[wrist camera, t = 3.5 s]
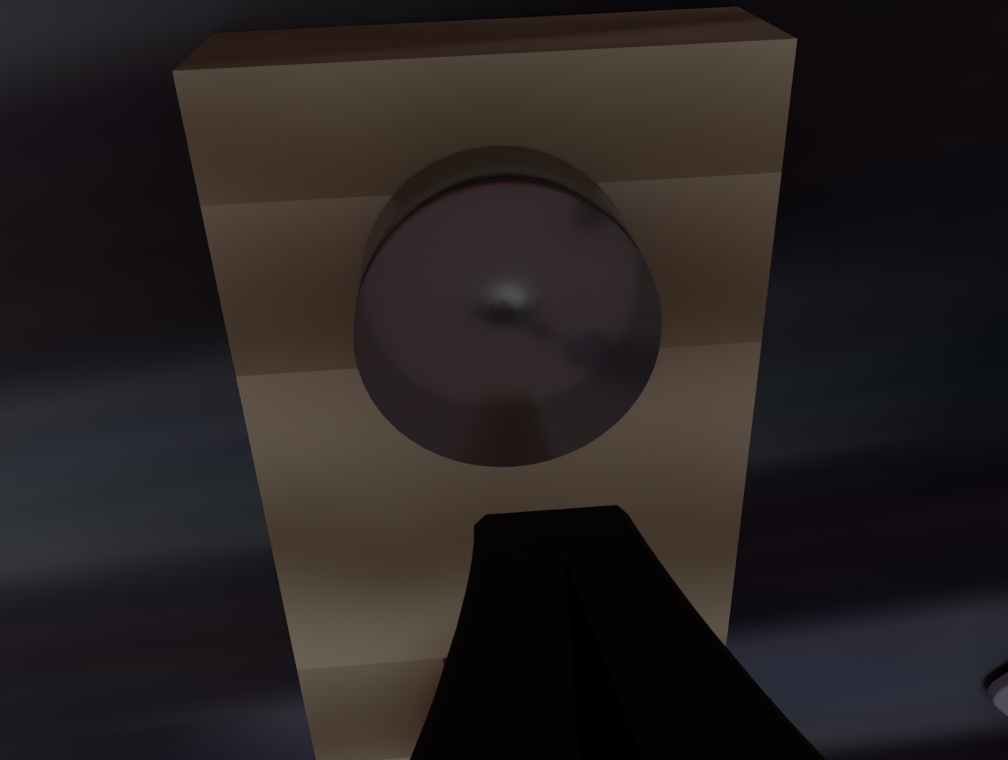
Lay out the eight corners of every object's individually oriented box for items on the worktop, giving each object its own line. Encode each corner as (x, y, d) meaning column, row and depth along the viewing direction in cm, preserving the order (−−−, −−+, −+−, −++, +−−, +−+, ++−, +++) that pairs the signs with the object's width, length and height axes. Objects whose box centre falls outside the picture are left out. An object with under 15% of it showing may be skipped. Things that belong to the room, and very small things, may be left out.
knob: (354, 120, 16) (333, 201, 12) (616, 107, 16) (670, 181, 12) (381, 353, 18) (370, 477, 14) (610, 337, 18) (654, 456, 14)
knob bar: (214, 32, 16) (172, 71, 13) (737, 6, 16) (797, 38, 14) (378, 933, 29) (373, 1038, 27) (661, 906, 30) (683, 1008, 27)
